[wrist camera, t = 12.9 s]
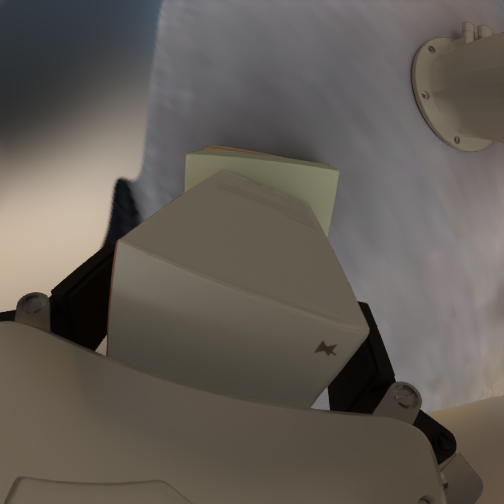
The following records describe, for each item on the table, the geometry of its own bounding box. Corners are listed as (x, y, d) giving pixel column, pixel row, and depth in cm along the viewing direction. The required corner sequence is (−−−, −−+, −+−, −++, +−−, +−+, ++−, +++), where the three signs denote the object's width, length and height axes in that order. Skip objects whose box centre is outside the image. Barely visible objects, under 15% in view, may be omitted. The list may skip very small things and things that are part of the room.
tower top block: (201, 150, 21) (186, 154, 17) (328, 164, 20) (339, 171, 17) (197, 263, 25) (184, 286, 21) (308, 277, 24) (312, 302, 21)
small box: (220, 167, 17) (112, 231, 5) (311, 203, 18) (381, 331, 6) (185, 271, 20) (104, 415, 8) (264, 301, 21) (253, 464, 9)
